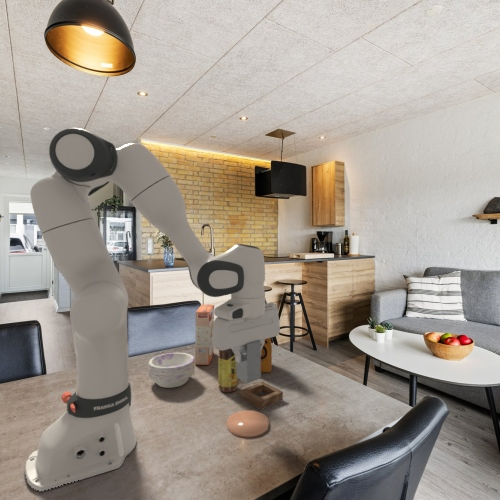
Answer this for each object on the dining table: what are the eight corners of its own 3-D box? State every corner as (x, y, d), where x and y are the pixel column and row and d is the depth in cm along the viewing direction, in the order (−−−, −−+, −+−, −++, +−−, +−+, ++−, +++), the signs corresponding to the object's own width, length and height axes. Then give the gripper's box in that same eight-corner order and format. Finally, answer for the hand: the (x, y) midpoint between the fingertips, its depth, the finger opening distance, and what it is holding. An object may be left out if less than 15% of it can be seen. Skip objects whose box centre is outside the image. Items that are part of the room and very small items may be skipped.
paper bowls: (168, 370, 122) (168, 348, 122) (203, 377, 116) (203, 355, 116) (138, 386, 109) (138, 363, 108) (176, 396, 102) (175, 371, 102)
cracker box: (210, 365, 126) (210, 311, 126) (194, 365, 127) (194, 311, 126) (214, 352, 140) (214, 304, 140) (200, 352, 140) (200, 304, 140)
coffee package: (247, 375, 118) (247, 314, 117) (243, 361, 130) (243, 306, 130) (274, 373, 120) (275, 313, 119) (267, 360, 132) (268, 306, 131)
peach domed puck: (244, 442, 79) (244, 439, 79) (218, 422, 88) (218, 419, 88) (277, 426, 86) (277, 423, 86) (250, 409, 95) (250, 406, 95)
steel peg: (247, 383, 83) (247, 344, 83) (236, 377, 87) (236, 340, 86) (260, 378, 86) (260, 340, 86) (249, 373, 90) (249, 336, 89)
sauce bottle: (234, 394, 104) (235, 331, 103) (215, 392, 105) (215, 330, 104) (239, 385, 110) (239, 326, 109) (221, 383, 111) (221, 325, 111)
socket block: (260, 409, 95) (260, 401, 94) (241, 397, 101) (241, 389, 101) (282, 399, 100) (282, 391, 100) (262, 389, 107) (263, 381, 107)
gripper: (269, 299, 95) (269, 347, 95) (208, 310, 82) (209, 364, 82) (285, 303, 90) (285, 353, 90) (223, 314, 77) (223, 373, 78)
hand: (248, 358), depth 86 cm, fingers closed on steel peg, 4 cm apart
